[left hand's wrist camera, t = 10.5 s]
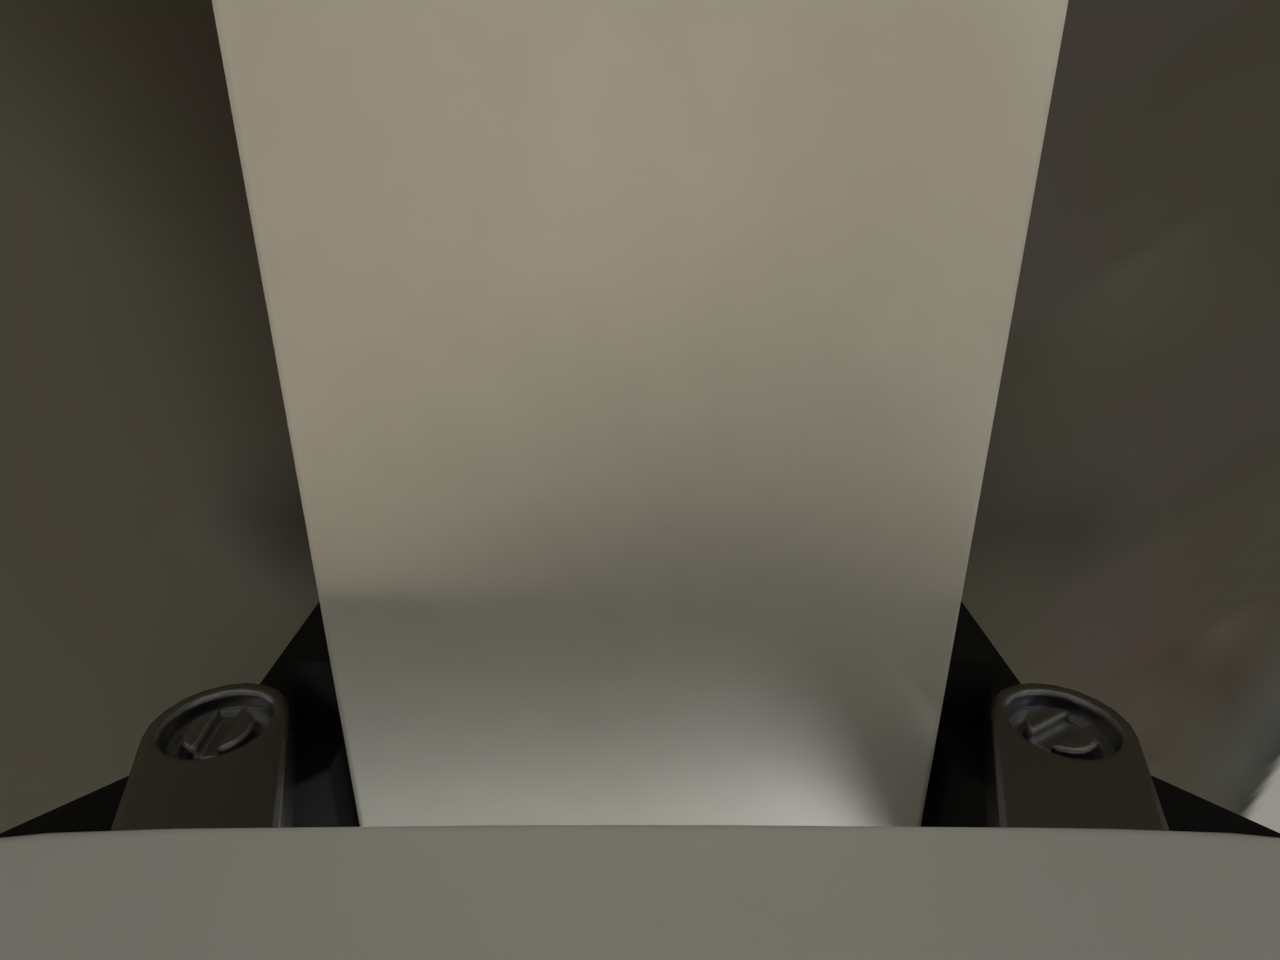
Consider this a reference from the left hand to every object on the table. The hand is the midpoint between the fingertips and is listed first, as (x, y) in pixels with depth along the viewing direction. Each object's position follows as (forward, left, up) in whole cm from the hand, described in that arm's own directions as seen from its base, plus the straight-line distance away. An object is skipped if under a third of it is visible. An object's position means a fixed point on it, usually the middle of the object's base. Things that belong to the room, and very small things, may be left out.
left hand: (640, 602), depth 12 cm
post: (+24, +5, -2) cm, 25 cm away
